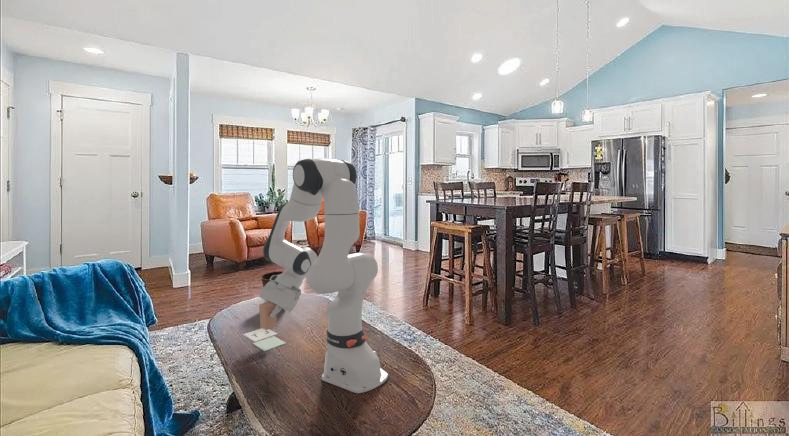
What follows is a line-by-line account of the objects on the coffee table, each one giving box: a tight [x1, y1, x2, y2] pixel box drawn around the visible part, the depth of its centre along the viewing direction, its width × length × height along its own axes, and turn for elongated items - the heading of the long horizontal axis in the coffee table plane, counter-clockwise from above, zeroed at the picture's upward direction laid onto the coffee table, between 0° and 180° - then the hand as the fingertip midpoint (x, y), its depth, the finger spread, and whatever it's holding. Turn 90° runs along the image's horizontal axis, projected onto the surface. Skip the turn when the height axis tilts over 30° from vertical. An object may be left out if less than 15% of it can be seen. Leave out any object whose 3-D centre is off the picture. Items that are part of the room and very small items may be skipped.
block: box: [258, 302, 278, 330], centre depth 147 cm, size 4×4×9 cm
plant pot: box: [261, 271, 283, 289], centre depth 188 cm, size 15×15×16 cm
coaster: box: [252, 335, 287, 352], centre depth 148 cm, size 9×9×1 cm
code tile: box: [242, 327, 278, 343], centre depth 157 cm, size 10×10×1 cm
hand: (266, 314), depth 147 cm, fingers closed on block, 4 cm apart
